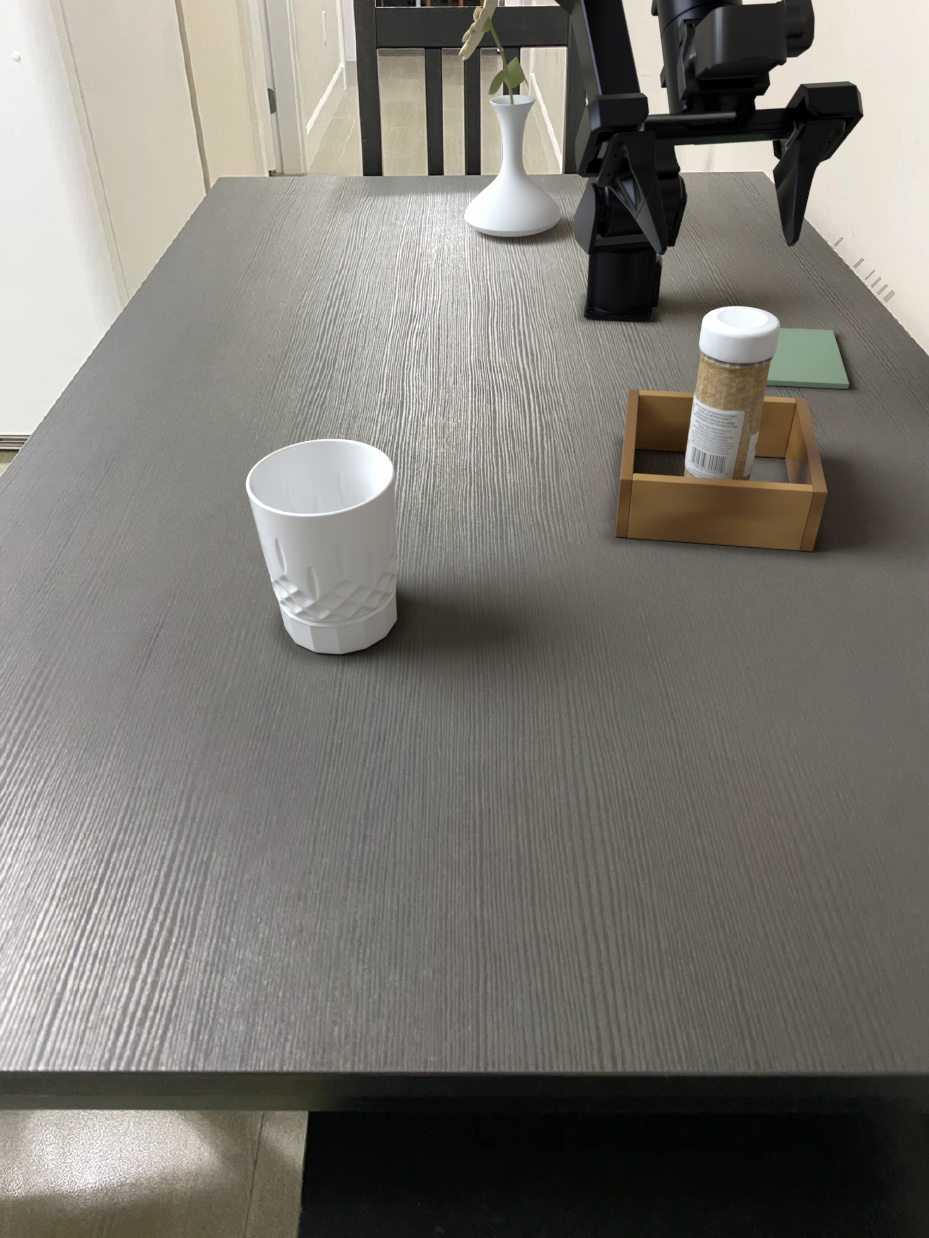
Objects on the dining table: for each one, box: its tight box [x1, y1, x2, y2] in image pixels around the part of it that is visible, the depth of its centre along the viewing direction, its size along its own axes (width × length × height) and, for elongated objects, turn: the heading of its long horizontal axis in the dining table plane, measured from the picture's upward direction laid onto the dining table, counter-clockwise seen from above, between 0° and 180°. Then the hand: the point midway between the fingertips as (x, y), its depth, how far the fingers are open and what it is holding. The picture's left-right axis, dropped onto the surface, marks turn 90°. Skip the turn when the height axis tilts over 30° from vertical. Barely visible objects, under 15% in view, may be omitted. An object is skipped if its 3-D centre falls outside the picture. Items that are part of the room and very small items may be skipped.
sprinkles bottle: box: [683, 305, 781, 481], centre depth 60 cm, size 5×5×14 cm
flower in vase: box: [458, 0, 562, 238], centre depth 102 cm, size 13×11×25 cm
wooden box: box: [614, 389, 829, 552], centre depth 64 cm, size 13×13×4 cm
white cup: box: [245, 438, 399, 655], centre depth 53 cm, size 8×8×10 cm
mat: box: [766, 327, 850, 390], centre depth 82 cm, size 11×11×1 cm
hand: (728, 248), depth 64 cm, fingers open, 9 cm apart
